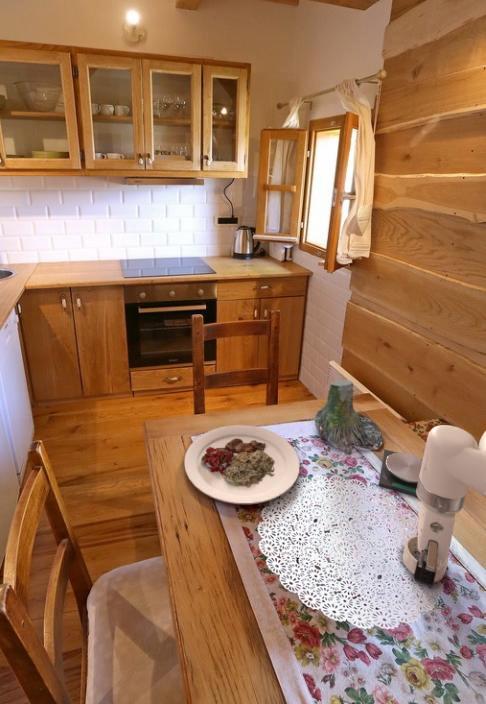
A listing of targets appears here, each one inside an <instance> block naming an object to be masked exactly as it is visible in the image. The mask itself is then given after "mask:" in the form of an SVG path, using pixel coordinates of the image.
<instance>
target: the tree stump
mask: <svg viewBox="0 0 486 704" xmlns="http://www.w3.org/2000/svg"><path fill="white" fill-rule="evenodd" d="M353 388H354V384H353V381H352V380H348V379H339V380H334V381H331V382H330V385H329V390H328V393H327V401H326V403H325V405H323V407H322V408H321V409H319V410H318V411H317V414H316V415H314V418H313V422H314V426H315V429H316V431H317V433H318V434H319V435H320V436H321V437H322V439H323V440H324V441H325V442H326V443H327V444H328V445H330V446H331V447H333V448H334V449H336V450H340V451H342V452H343V453H347V454H352V453H353V449H354V447H355V450H357V448H362V449H365V450H369V451H372V452H377V451H378V450H380V448H382V446H383V442H384V441H383V440H384V439H383V434H382V433H381V430H380V428H379V426H378V425H376V423H375V421H373V420H372V419H370V418H368V417H366V416H364V415H363V414H361V413H360V412H357V411H356V409H355V408H354V400H355V397H354V393H355V390H354V389H353ZM356 447H357V448H356Z"/></svg>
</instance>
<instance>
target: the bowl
mask: <svg viewBox="0 0 486 704" xmlns="http://www.w3.org/2000/svg"><path fill="white" fill-rule="evenodd" d="M426 549H427V550H428V546H427V548H426ZM414 552H419V550H418V535H417V534H414V535H411V536H409V537H408V538H407V539H406V540H405V544H404V549H403V554H402V560H403V564H404V566H405V567H406V569H408V571H409V572H410V573H411V574H412V575H414V573H415V569H416V565H417V561H419V560H417V559H416V558H415V557H414V556H413V554H412V553H414ZM448 563H449V557H448V558H447V560H446V561H442V560H440V559H439V556H438V561H437V571H436V575H435V579H434V583H437V582H438V581H440V580H442V579H443V578H444V576H445V574H446V570H447V567H448Z"/></svg>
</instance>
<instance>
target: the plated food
mask: <svg viewBox="0 0 486 704" xmlns="http://www.w3.org/2000/svg"><path fill="white" fill-rule="evenodd" d="M183 463H184V470H185V473H186V475H187V478H188V479H189V481H190V482H191V483H192V484H193V486H194V487H195V488H196V489H198V490H199V491H200V492H202V493H203V494H204V495H206V496H208V497H210V498H212V499H214V500H217V501H220V502H222V503H228V504H235V505H254V504H255V505H256V504H260V503H261V504H262V503H265V502H268V501H273V500H275V499H277V498H279V497H280V496H283V495H284V494H285V493H286V492H288V491H289V490H290V489H291V488H292V487H293V485H294V484H295V482H296V481H297V480H298V477H299V474H300V460H299V455H298V453H297V452H296V450H295V448H294V447H293V446H292V445H291V444H290V442H289V441H287V440H286V439H285V438H283V436H281V435H279V434H278V433H275V432H273V431H271V430H268V429H266V428H264V427H258V426H254V425H246V424H233V425H232V424H231V425H225V426H224V425H223V426H219V427H216V428H214V429H210V430H209V431H206V432H205V433H203V434H201V435H199V436H198V437H197V438H196V439H195V440H193V441H192V442H191V444H190V445H189V446H188V448H187V450H186V451H185V455H184V462H183Z"/></svg>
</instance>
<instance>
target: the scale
mask: <svg viewBox="0 0 486 704" xmlns="http://www.w3.org/2000/svg"><path fill="white" fill-rule="evenodd" d="M394 453H398V452H396V451H393V450H388V449H385V448H384V449H383V455H382V462H381V468H380V474H379V480H378V487H381V488H384V489H386V490H387V489H388V490H390V491H393V492H397V493H400V494H404V495H407V496H410V497H414V498H416V499H419V498H418V496H417V494H416V489H417V484H416V483H409V482H406V481H403V480H401V479H399V478H397V477H395V476H394V475H393V474H391V473H390V472H389V470H388V469H387V467H386V459H387V457H388V456H389V455H391V454H394ZM420 459H421V460H423V458H420Z"/></svg>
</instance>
